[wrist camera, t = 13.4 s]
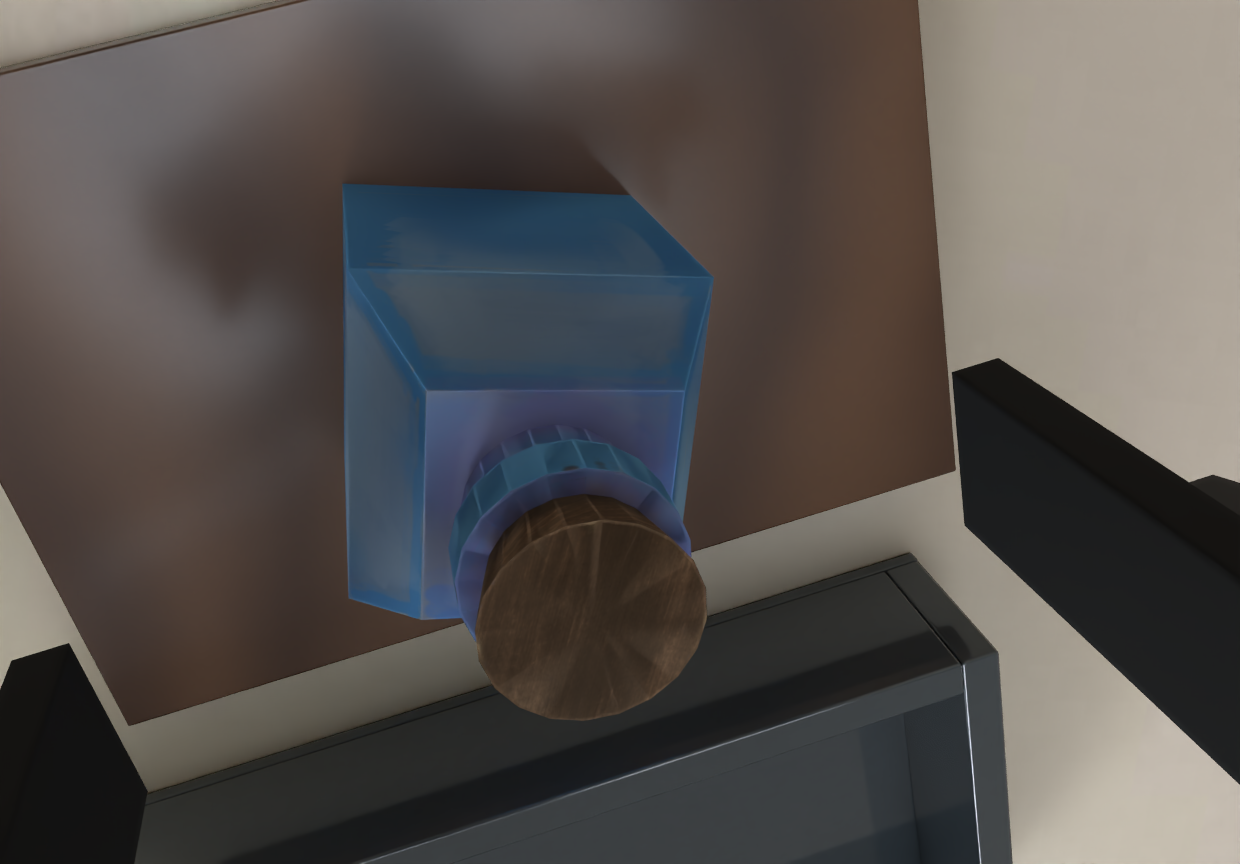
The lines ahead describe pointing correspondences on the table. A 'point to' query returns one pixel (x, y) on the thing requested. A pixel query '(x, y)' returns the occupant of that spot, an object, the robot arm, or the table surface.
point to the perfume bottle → (526, 433)
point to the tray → (661, 758)
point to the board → (313, 283)
